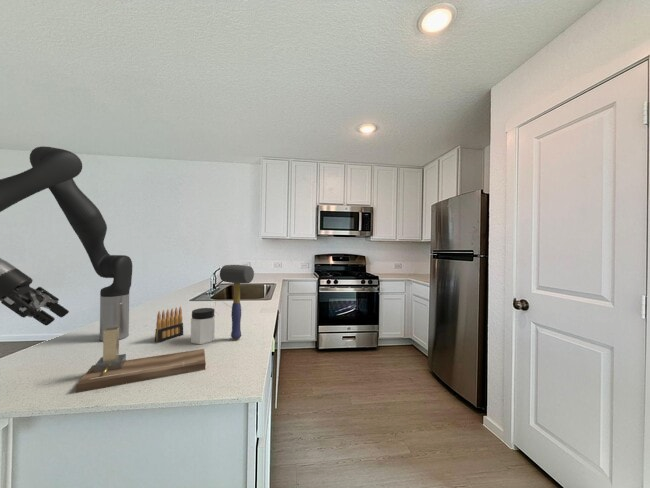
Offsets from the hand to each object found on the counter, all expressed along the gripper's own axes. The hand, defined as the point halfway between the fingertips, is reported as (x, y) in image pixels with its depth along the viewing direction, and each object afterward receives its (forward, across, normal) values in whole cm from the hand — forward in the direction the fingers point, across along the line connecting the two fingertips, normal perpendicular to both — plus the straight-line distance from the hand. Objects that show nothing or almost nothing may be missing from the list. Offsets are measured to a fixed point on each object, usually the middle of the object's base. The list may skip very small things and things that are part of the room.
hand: (58, 318), depth 72 cm
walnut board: (+28, -3, -3) cm, 28 cm away
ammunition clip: (+30, +26, -5) cm, 40 cm away
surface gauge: (+19, -2, +3) cm, 19 cm away
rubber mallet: (+47, +14, -22) cm, 54 cm away
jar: (+38, +18, -14) cm, 44 cm away
